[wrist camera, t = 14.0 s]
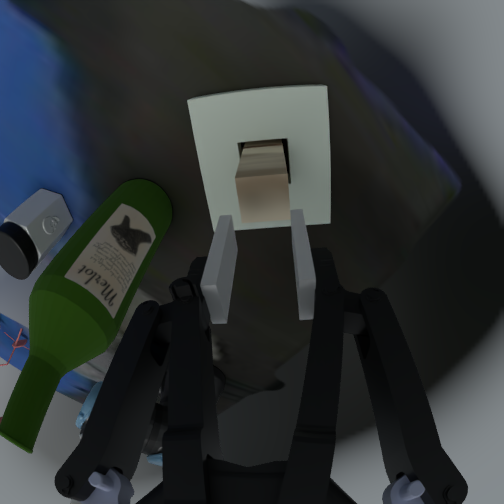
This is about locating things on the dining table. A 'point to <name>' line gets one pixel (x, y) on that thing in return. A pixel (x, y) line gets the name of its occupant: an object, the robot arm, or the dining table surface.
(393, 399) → the robot arm
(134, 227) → the wine bottle
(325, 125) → the plinth
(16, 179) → the dining table surface
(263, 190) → the peg
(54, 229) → the jar
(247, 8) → the dining table surface
